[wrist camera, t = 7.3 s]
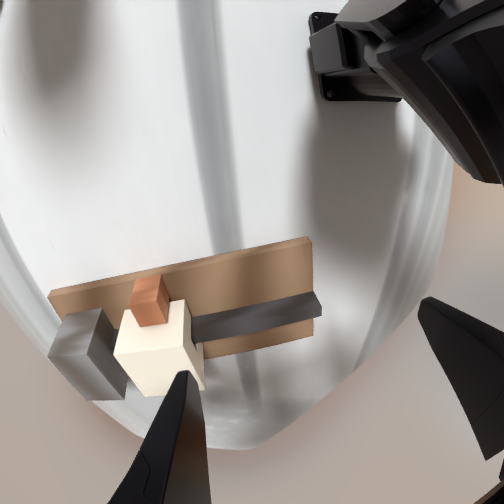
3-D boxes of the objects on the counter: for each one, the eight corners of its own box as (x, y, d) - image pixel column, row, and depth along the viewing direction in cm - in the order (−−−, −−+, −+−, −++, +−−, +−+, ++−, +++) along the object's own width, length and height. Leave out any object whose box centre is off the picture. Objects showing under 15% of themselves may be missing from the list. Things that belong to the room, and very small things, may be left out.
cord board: (307, 236, 21) (339, 282, 16) (310, 328, 26) (331, 376, 21) (51, 290, 19) (24, 338, 14) (100, 364, 25) (90, 411, 19)
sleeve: (184, 299, 20) (182, 345, 16) (202, 346, 23) (205, 389, 19) (124, 310, 20) (113, 354, 16) (149, 354, 23) (145, 396, 19)
